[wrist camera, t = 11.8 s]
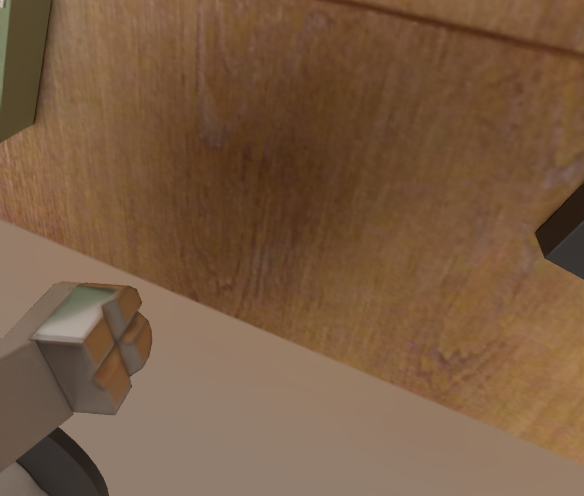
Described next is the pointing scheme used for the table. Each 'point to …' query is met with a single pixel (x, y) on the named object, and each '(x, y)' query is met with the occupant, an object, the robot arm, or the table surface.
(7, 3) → the panel
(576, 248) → the button box
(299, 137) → the table surface
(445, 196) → the table surface
